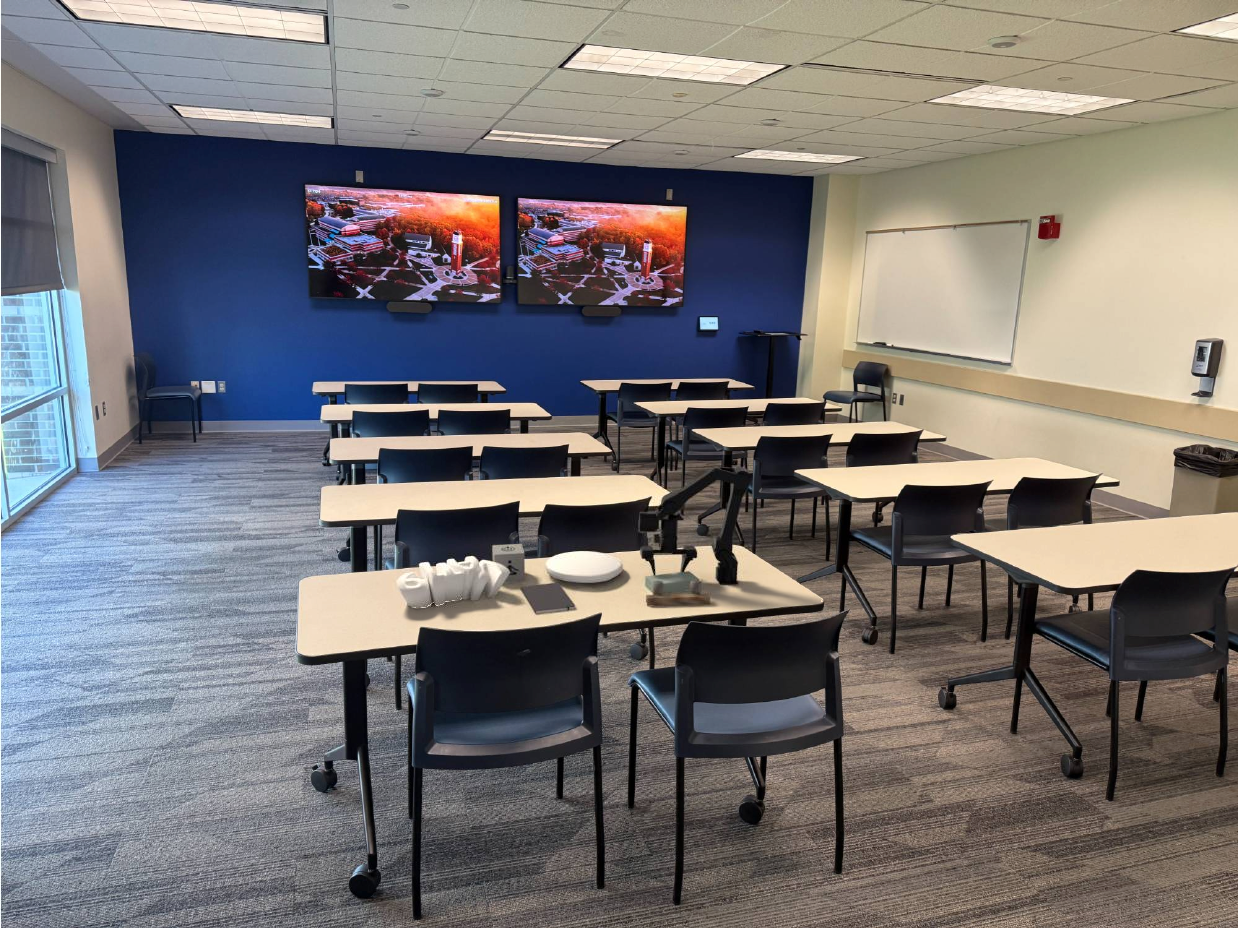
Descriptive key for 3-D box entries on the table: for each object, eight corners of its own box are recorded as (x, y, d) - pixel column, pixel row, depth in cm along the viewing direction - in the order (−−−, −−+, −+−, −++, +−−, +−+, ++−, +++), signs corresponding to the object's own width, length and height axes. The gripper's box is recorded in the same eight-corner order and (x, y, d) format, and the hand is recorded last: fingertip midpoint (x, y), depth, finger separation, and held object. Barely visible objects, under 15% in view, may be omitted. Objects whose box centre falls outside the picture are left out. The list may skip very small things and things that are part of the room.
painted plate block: (688, 582, 275) (689, 571, 274) (698, 590, 268) (699, 579, 267) (645, 587, 269) (645, 576, 269) (654, 596, 262) (654, 584, 261)
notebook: (520, 590, 265) (535, 615, 245) (520, 586, 265) (535, 610, 245) (558, 586, 269) (575, 610, 250) (558, 582, 269) (575, 605, 249)
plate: (549, 547, 293) (623, 549, 293) (549, 565, 294) (623, 567, 293) (541, 565, 265) (622, 568, 265) (540, 585, 266) (621, 587, 265)
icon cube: (492, 572, 280) (492, 545, 278) (521, 571, 282) (521, 543, 280) (494, 583, 270) (494, 554, 268) (524, 581, 273) (524, 552, 270)
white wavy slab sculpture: (498, 581, 272) (498, 551, 270) (512, 598, 257) (512, 567, 255) (391, 596, 258) (390, 564, 256) (400, 615, 243) (399, 582, 241)
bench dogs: (706, 597, 260) (706, 579, 259) (710, 604, 255) (710, 586, 254) (644, 598, 258) (645, 581, 257) (647, 605, 253) (647, 587, 251)
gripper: (692, 524, 280) (690, 567, 283) (638, 525, 278) (637, 568, 282) (698, 534, 269) (696, 578, 272) (642, 535, 267) (641, 579, 271)
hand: (667, 576), depth 275 cm, fingers open, 9 cm apart
